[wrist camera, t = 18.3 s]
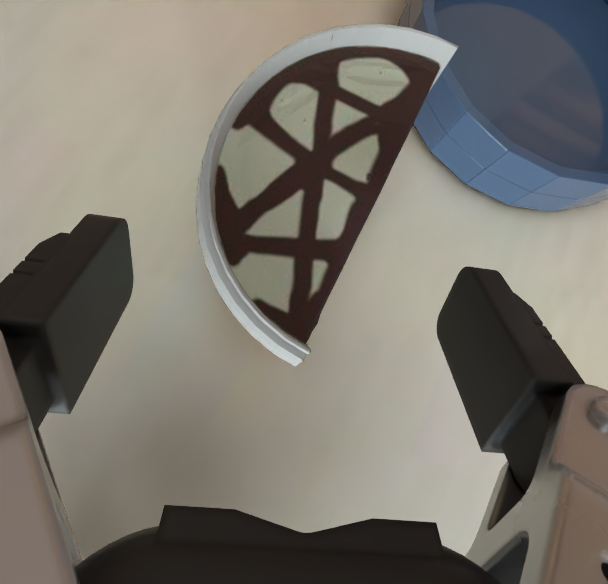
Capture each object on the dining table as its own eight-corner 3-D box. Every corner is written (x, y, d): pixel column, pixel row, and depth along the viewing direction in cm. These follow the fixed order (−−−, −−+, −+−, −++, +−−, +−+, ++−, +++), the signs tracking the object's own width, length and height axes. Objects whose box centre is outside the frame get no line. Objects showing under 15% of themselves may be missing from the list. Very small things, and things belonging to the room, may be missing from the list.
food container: (281, 112, 23) (301, -58, 14) (377, 163, 24) (465, 33, 14) (174, 305, 21) (105, 271, 11) (280, 358, 22) (302, 370, 12)
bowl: (381, 188, 24) (410, 152, 19) (404, -78, 26) (436, -164, 22) (659, 231, 25) (745, 207, 21) (656, -21, 28) (733, -90, 23)
